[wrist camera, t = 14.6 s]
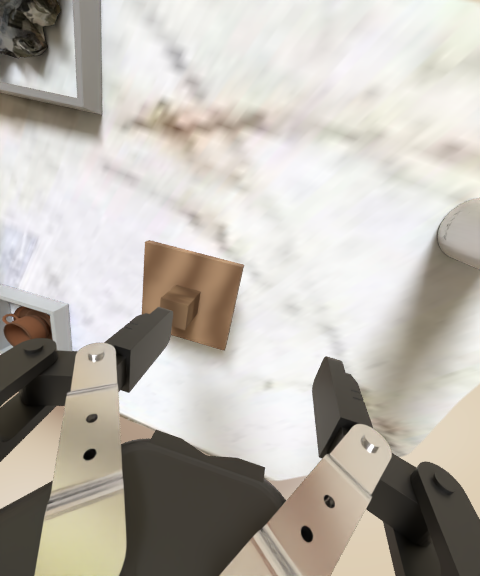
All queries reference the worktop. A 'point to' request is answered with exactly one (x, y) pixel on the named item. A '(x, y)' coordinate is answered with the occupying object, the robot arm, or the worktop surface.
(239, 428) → the worktop surface
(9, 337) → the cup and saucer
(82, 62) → the foil frame
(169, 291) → the walnut lid
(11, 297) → the grey square tray
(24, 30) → the foil
